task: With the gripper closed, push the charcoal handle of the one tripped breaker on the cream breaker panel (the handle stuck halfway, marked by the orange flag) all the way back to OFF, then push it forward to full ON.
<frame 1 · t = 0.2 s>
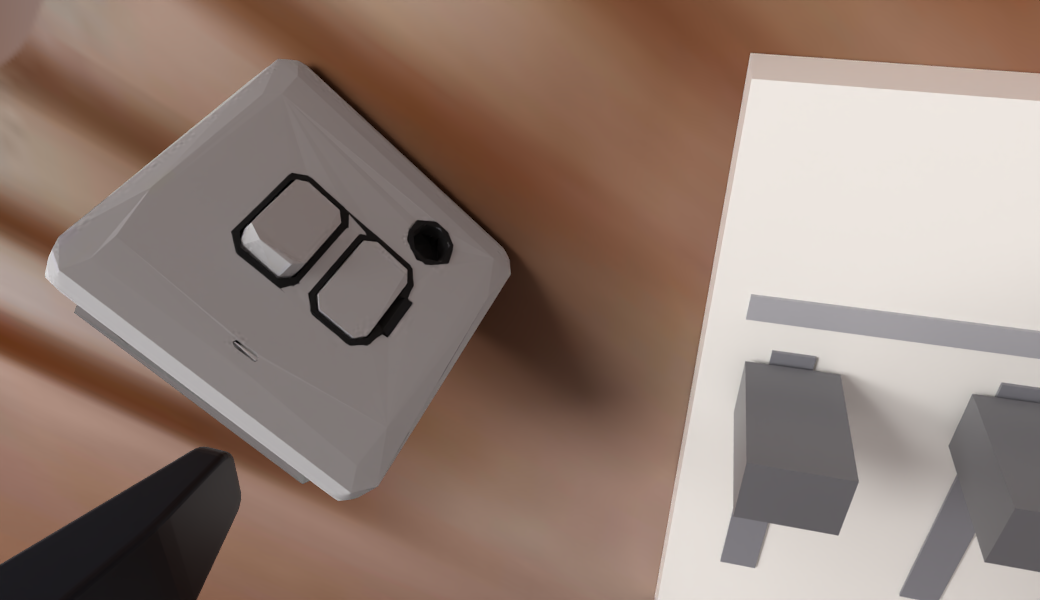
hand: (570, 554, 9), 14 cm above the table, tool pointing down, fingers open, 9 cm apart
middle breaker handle: (1033, 482, 19), point 4 cm above the table, slide at 7.0 cm
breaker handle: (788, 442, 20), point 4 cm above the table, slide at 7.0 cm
breaker panel: (960, 434, 24), on the table
electrical switch: (372, 209, 25), on the table
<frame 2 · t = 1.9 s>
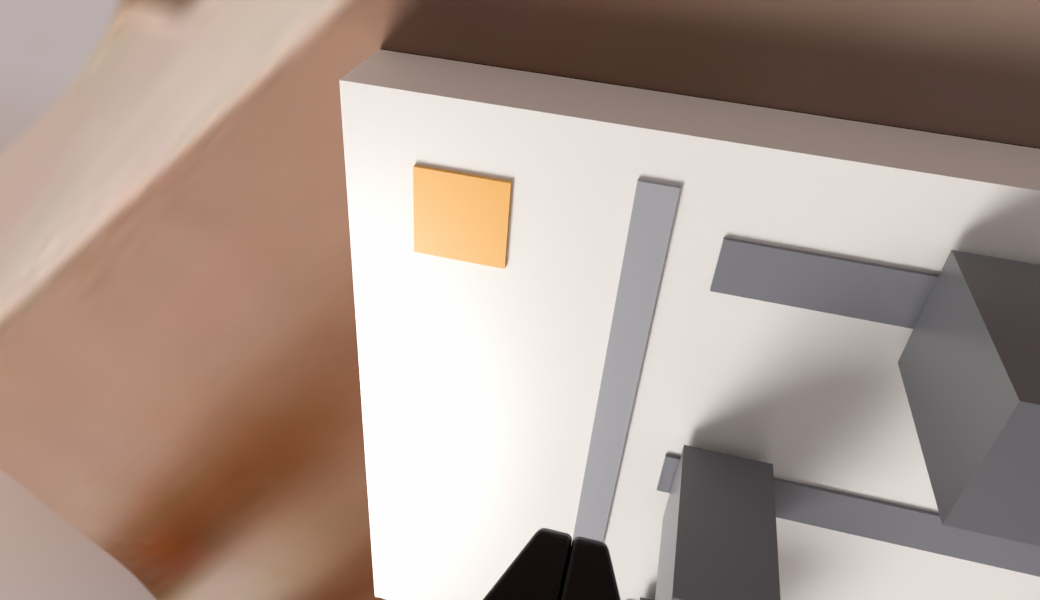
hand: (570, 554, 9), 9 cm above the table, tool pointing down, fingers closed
tripped breaker handle: (1011, 390, 12), point 4 cm above the table, slide at 3.5 cm
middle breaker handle: (713, 562, 16), point 4 cm above the table, slide at 7.0 cm
breaker panel: (815, 446, 19), on the table
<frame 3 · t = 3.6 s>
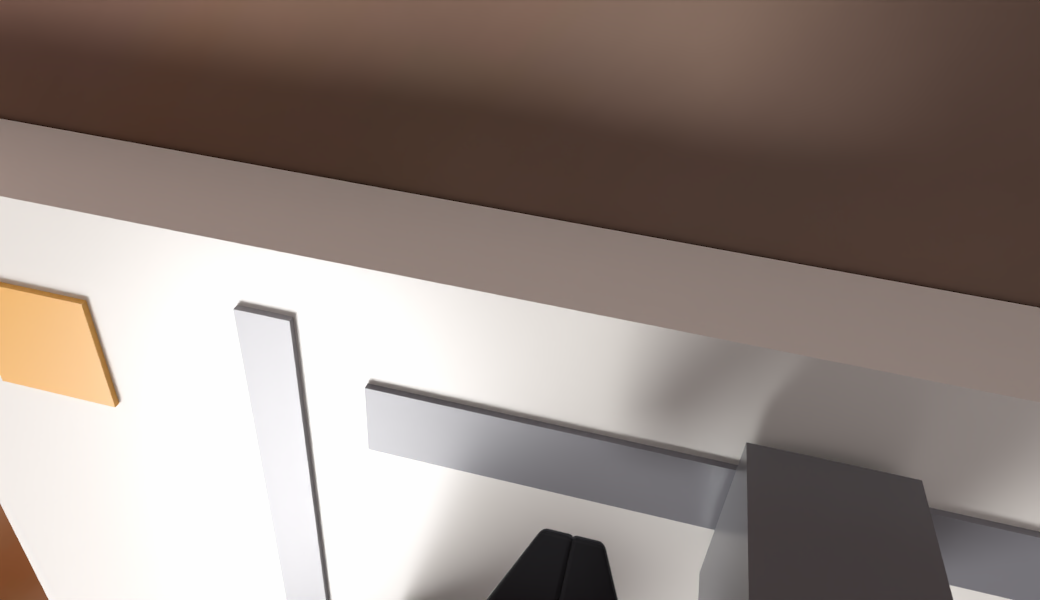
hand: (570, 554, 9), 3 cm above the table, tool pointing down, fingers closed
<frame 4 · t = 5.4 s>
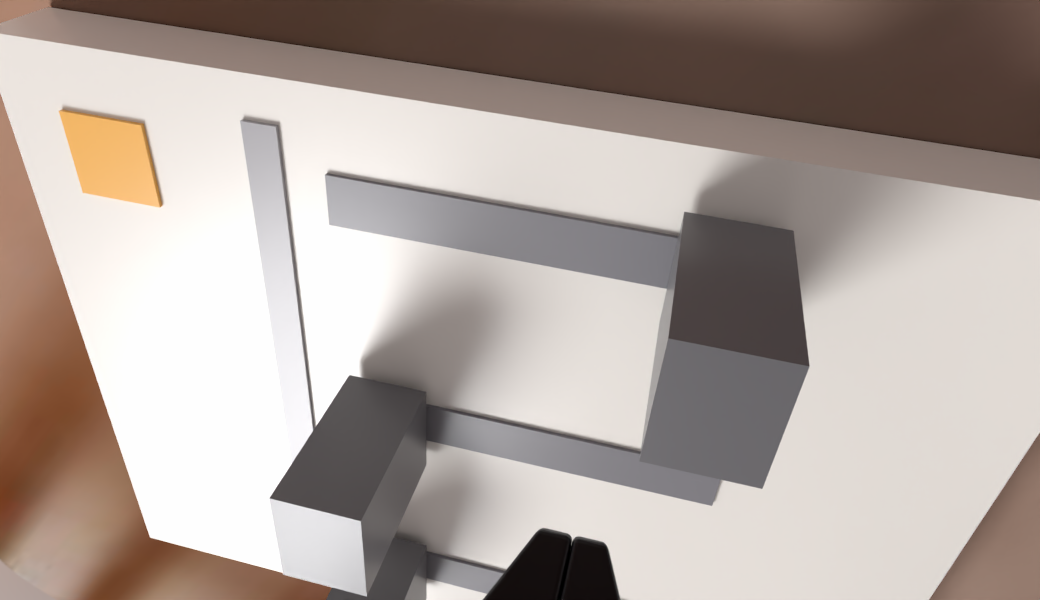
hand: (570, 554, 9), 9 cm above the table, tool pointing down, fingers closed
tripped breaker handle: (720, 339, 13), point 4 cm above the table, slide at -0.1 cm
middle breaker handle: (357, 479, 18), point 4 cm above the table, slide at 7.0 cm
breaker panel: (506, 383, 21), on the table
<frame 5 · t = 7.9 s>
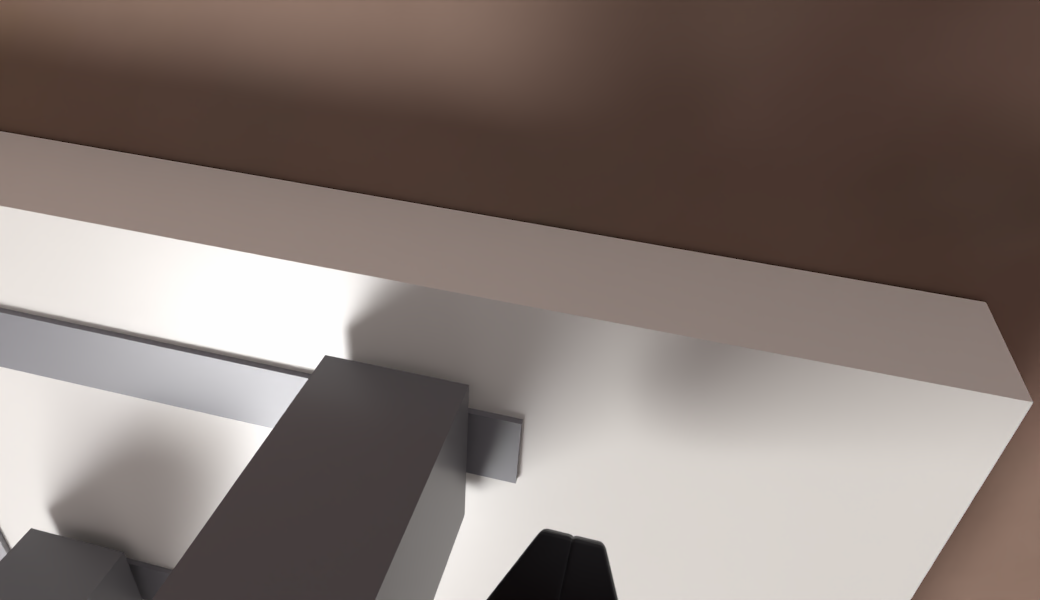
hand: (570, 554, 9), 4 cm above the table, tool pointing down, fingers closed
tripped breaker handle: (339, 555, 9), point 4 cm above the table, slide at 0.4 cm, touching gripper
breaker panel: (266, 519, 17), on the table
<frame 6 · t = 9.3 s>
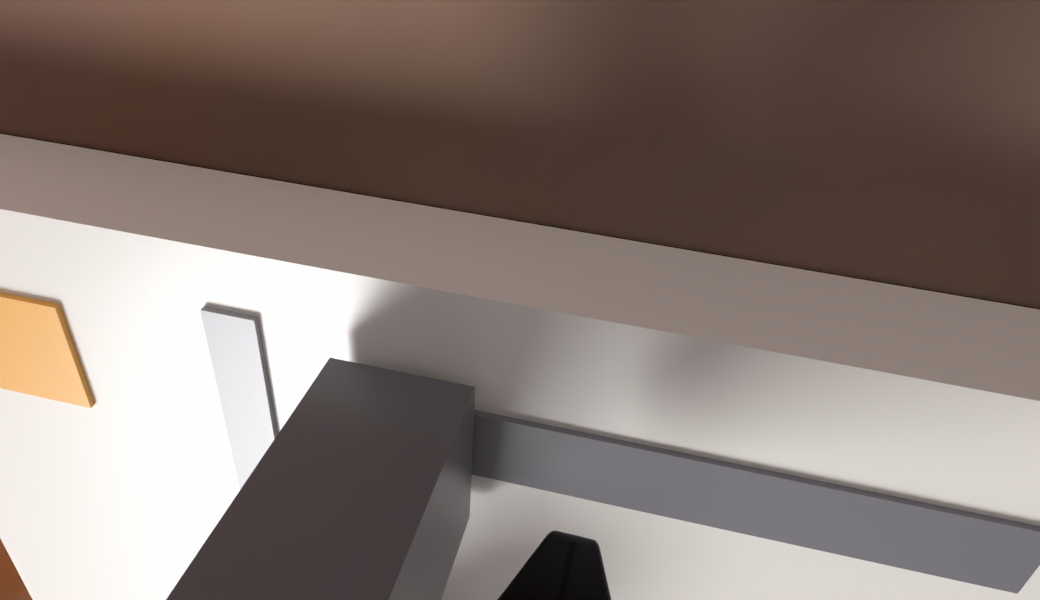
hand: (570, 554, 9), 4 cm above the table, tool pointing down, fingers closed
tripped breaker handle: (347, 559, 9), point 4 cm above the table, slide at 7.1 cm, touching gripper
breaker panel: (569, 593, 16), on the table
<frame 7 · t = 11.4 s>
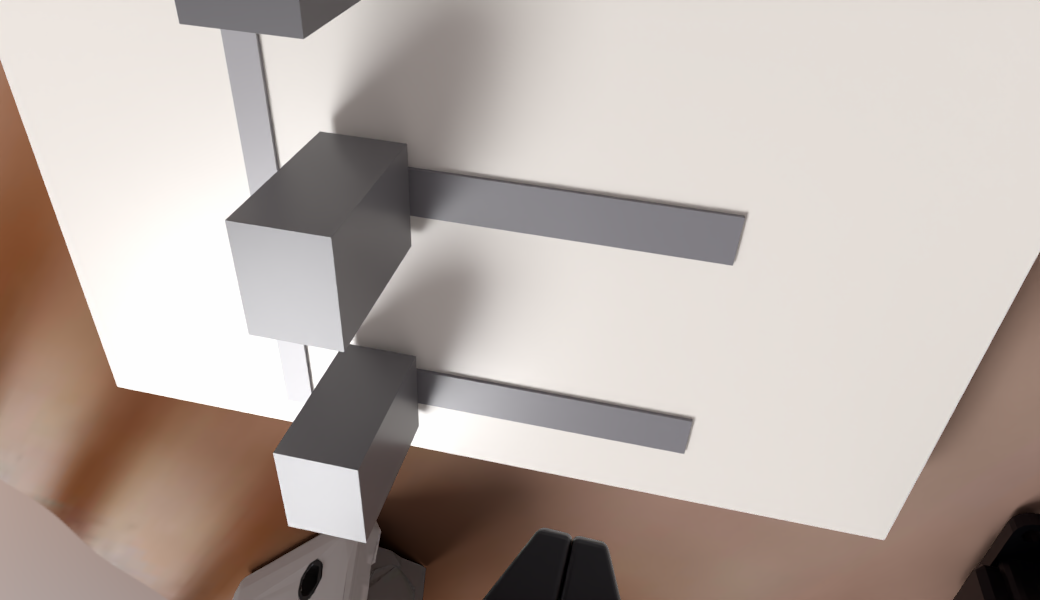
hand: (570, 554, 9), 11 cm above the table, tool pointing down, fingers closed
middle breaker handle: (331, 235, 16), point 4 cm above the table, slide at 7.0 cm
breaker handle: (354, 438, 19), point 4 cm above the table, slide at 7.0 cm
breaker panel: (498, 162, 19), on the table
electrical switch: (354, 573, 31), on the table
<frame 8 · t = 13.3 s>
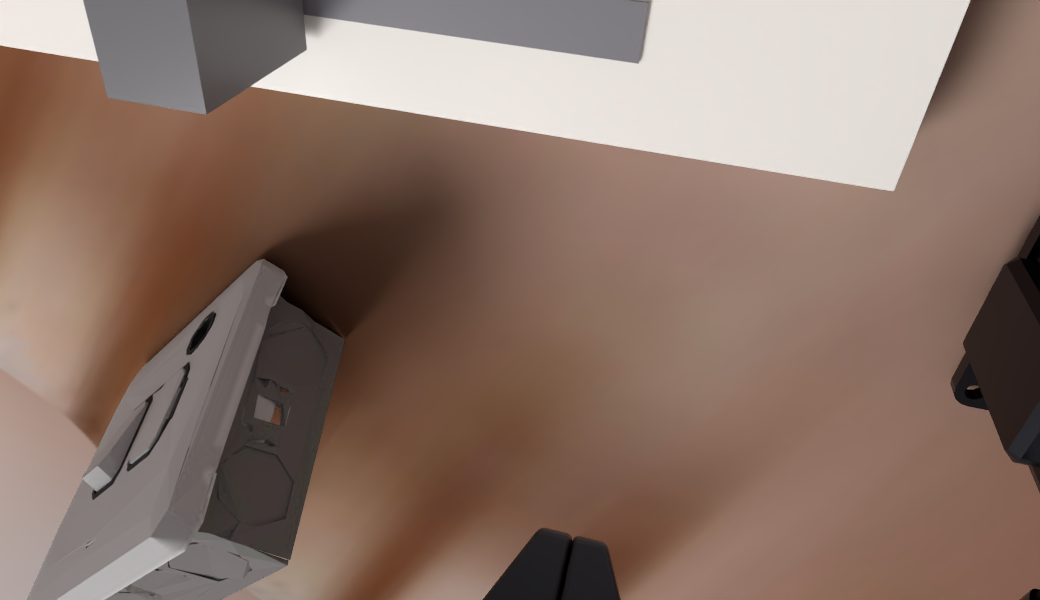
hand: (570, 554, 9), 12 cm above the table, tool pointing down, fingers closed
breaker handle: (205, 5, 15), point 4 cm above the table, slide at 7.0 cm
electrical switch: (266, 360, 27), on the table
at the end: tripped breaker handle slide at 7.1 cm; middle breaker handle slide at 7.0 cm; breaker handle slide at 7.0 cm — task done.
